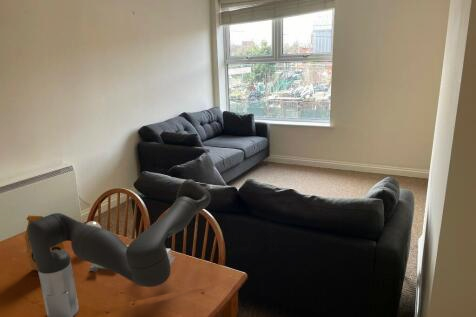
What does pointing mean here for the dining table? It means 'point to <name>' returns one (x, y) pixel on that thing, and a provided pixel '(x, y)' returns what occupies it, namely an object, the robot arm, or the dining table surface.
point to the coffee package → (29, 249)
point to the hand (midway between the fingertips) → (157, 239)
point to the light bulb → (94, 224)
